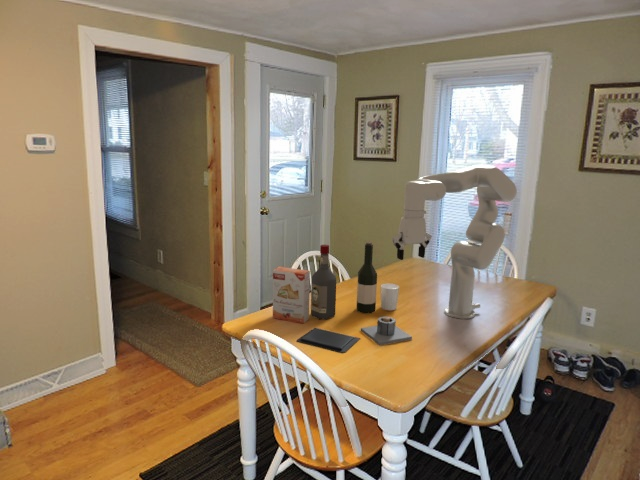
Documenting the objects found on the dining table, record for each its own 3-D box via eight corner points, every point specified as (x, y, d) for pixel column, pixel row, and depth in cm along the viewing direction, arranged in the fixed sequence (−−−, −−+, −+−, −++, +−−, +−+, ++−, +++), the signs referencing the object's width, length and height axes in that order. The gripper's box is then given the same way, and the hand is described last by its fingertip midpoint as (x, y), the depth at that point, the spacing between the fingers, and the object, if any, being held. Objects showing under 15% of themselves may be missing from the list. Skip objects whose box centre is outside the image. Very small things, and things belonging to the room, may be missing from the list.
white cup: (397, 311, 205) (398, 289, 203) (379, 310, 206) (380, 288, 204) (398, 305, 212) (399, 284, 210) (380, 304, 214) (381, 282, 212)
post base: (391, 325, 189) (392, 310, 188) (411, 339, 177) (412, 322, 175) (360, 330, 184) (361, 314, 182) (379, 345, 171) (380, 328, 170)
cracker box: (272, 318, 194) (272, 269, 189) (278, 313, 199) (278, 265, 195) (303, 324, 189) (304, 273, 184) (309, 319, 194) (310, 269, 190)
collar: (388, 327, 184) (389, 315, 183) (397, 334, 178) (398, 321, 177) (374, 330, 181) (375, 318, 180) (383, 336, 176) (383, 324, 175)
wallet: (294, 338, 173) (315, 324, 186) (294, 342, 173) (315, 328, 186) (343, 351, 163) (361, 335, 176) (343, 356, 164) (361, 340, 177)
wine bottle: (362, 314, 200) (366, 245, 194) (352, 308, 207) (355, 241, 201) (379, 311, 204) (382, 244, 198) (368, 305, 211) (371, 240, 205)
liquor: (323, 309, 205) (324, 242, 198) (338, 315, 199) (340, 246, 192) (307, 314, 199) (308, 245, 192) (322, 321, 192) (324, 249, 186)
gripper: (426, 211, 186) (423, 254, 189) (388, 213, 179) (386, 257, 182) (438, 214, 179) (435, 258, 183) (399, 216, 172) (397, 262, 176)
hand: (410, 258), depth 182 cm, fingers open, 9 cm apart
